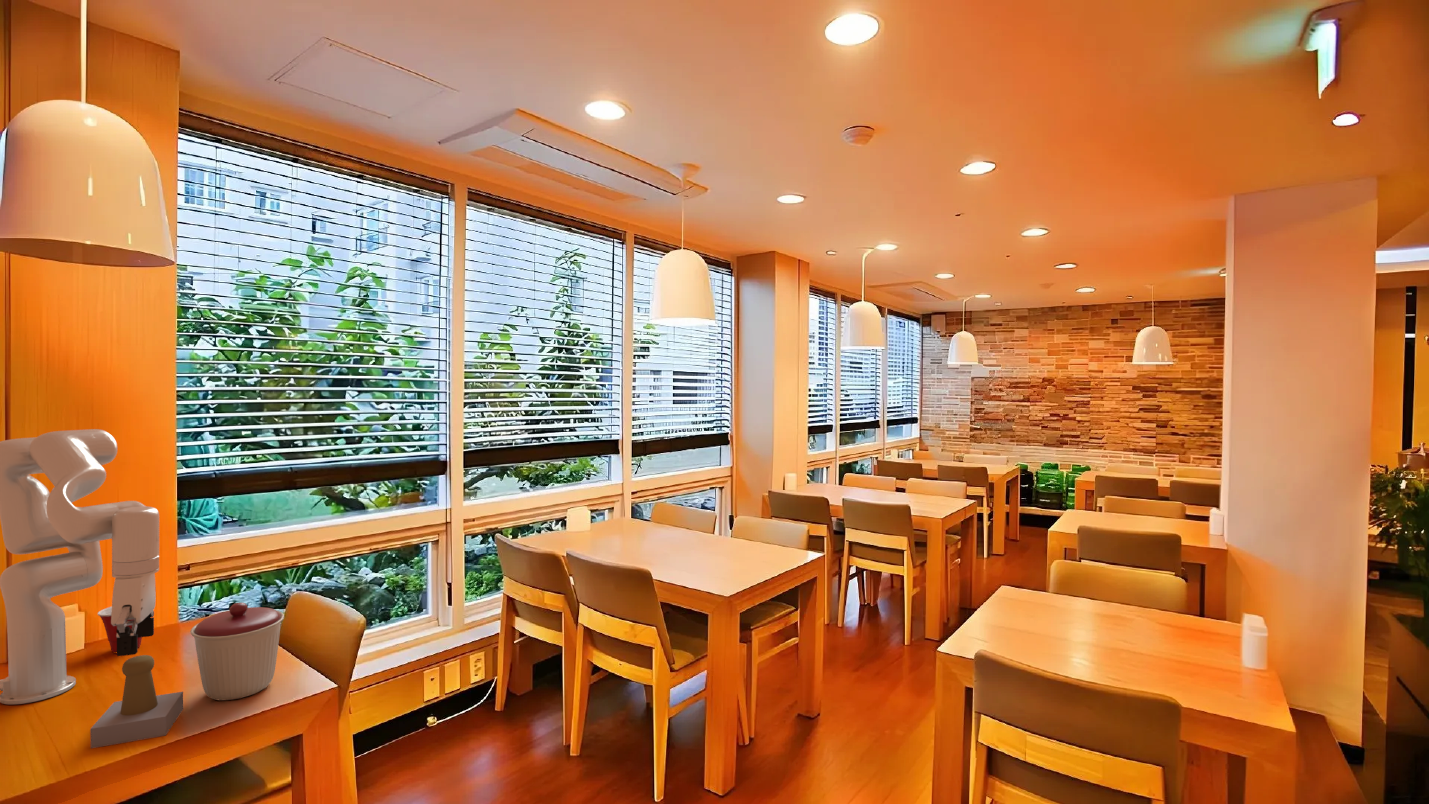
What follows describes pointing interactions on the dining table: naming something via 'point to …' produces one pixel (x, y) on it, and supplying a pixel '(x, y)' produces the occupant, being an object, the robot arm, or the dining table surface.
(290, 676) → the dining table surface
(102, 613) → the plastic cup
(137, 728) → the block
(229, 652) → the canister
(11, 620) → the robot arm
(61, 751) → the dining table surface
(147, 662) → the cork
